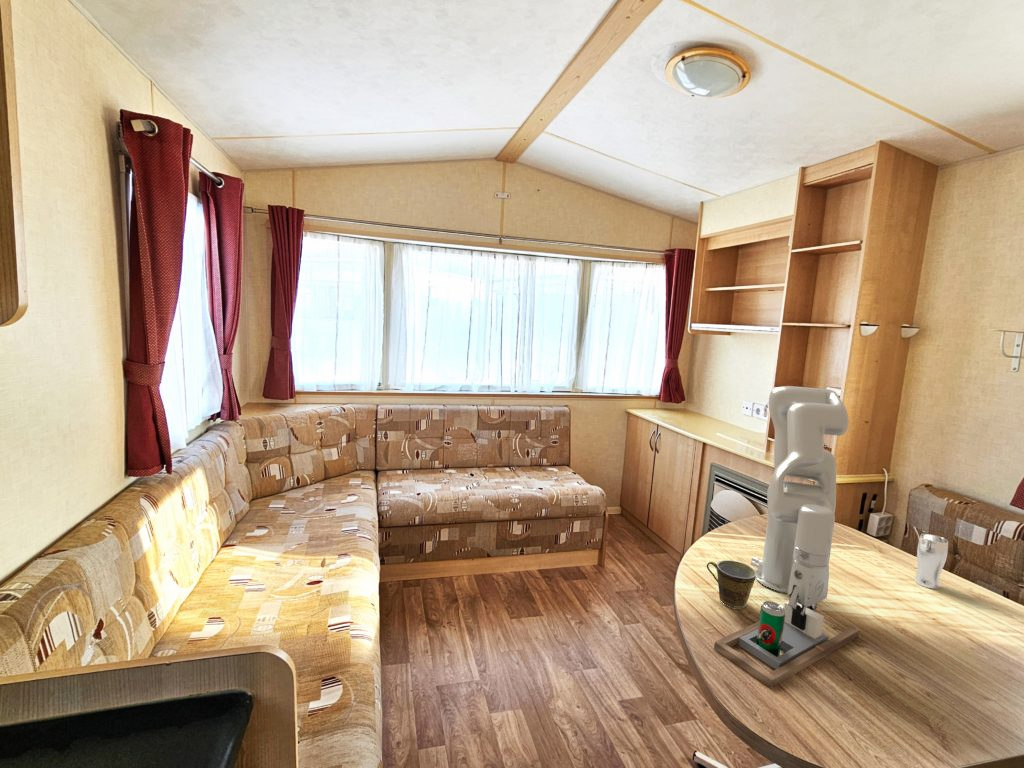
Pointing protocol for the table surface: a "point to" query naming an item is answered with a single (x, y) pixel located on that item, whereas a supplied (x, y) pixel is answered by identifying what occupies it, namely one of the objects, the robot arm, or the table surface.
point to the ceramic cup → (734, 582)
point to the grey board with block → (789, 639)
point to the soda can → (771, 627)
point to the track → (788, 668)
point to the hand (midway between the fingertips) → (802, 624)
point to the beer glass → (930, 560)
